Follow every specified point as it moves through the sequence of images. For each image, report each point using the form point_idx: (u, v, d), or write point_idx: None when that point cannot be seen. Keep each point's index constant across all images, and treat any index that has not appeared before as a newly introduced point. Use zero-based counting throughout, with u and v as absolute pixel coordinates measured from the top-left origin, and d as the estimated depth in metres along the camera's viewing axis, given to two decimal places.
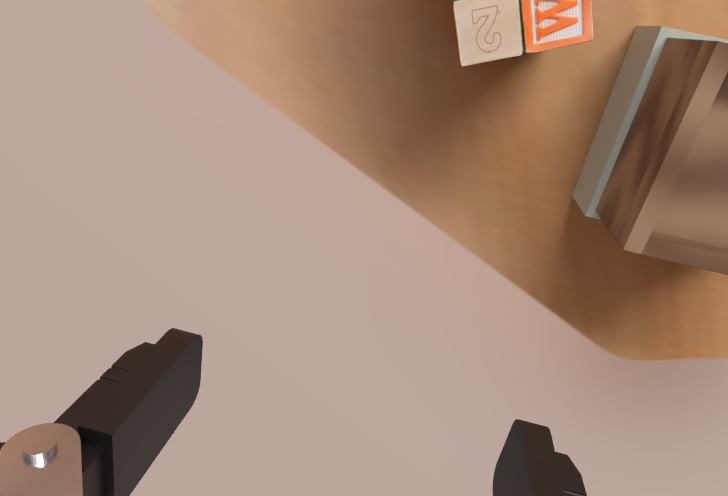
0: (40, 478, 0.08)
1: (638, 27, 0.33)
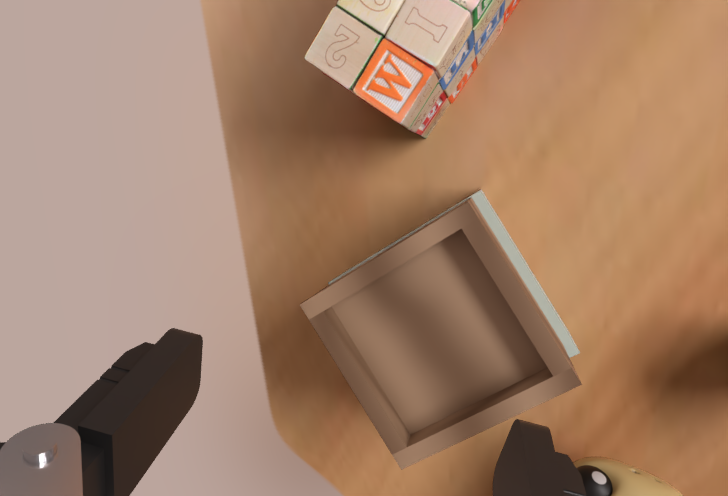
0: (40, 478, 0.08)
1: (480, 189, 0.36)
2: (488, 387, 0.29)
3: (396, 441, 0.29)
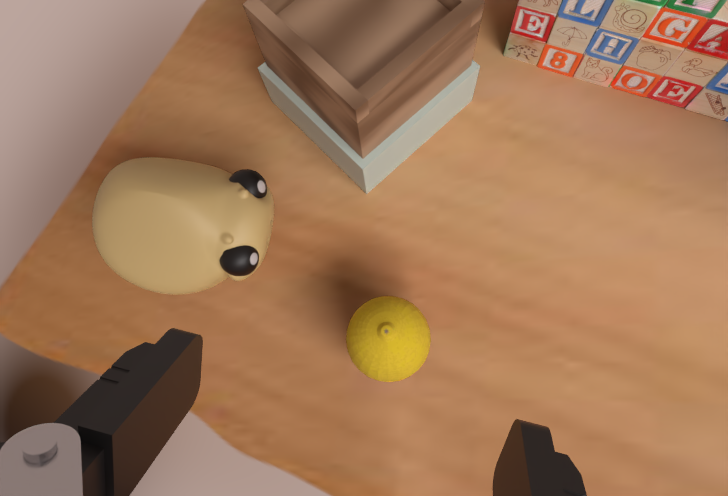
0: (40, 478, 0.08)
1: (471, 96, 0.42)
2: None
3: None
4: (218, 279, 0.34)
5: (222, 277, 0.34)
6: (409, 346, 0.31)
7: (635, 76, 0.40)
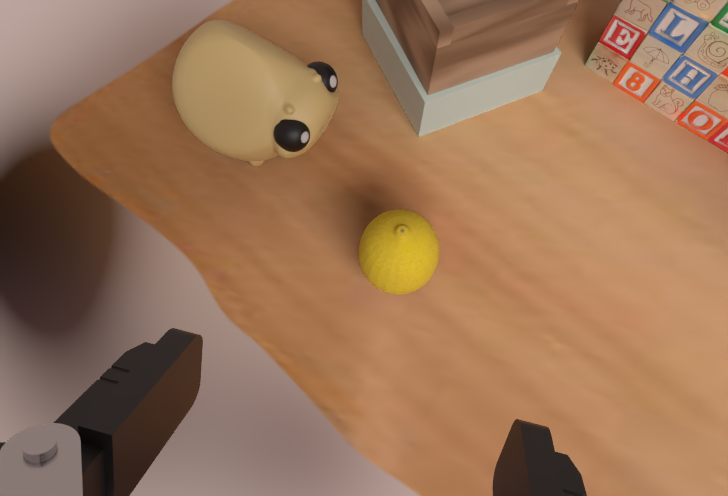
0: (40, 478, 0.08)
1: (543, 86, 0.45)
2: None
3: None
4: (265, 149, 0.37)
5: (269, 149, 0.37)
6: (417, 253, 0.32)
7: (703, 114, 0.42)
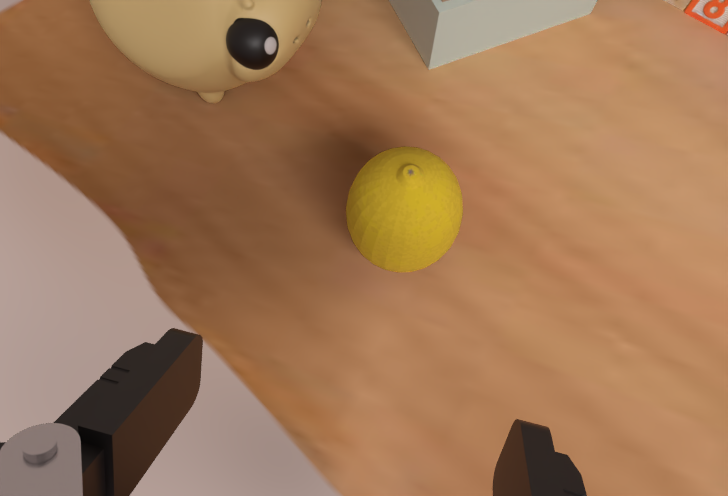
0: (40, 478, 0.08)
1: (592, 7, 0.34)
2: None
3: None
4: (217, 68, 0.26)
5: (223, 67, 0.26)
6: (433, 208, 0.21)
7: None
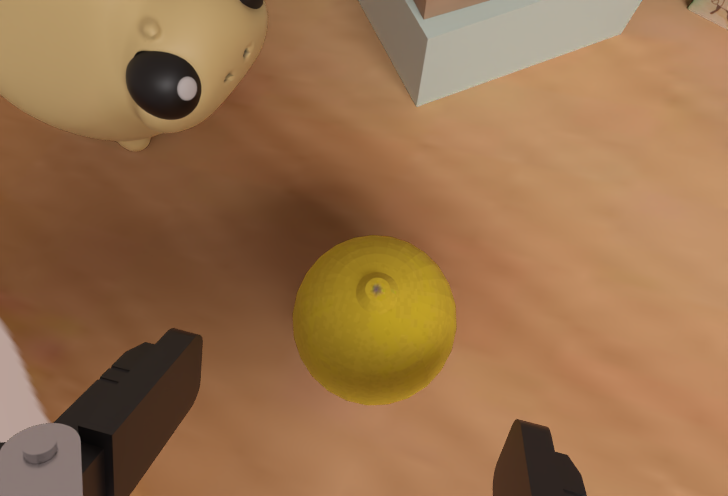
0: (40, 478, 0.08)
1: (623, 26, 0.27)
2: None
3: None
4: (121, 115, 0.19)
5: (129, 115, 0.19)
6: (411, 339, 0.14)
7: None
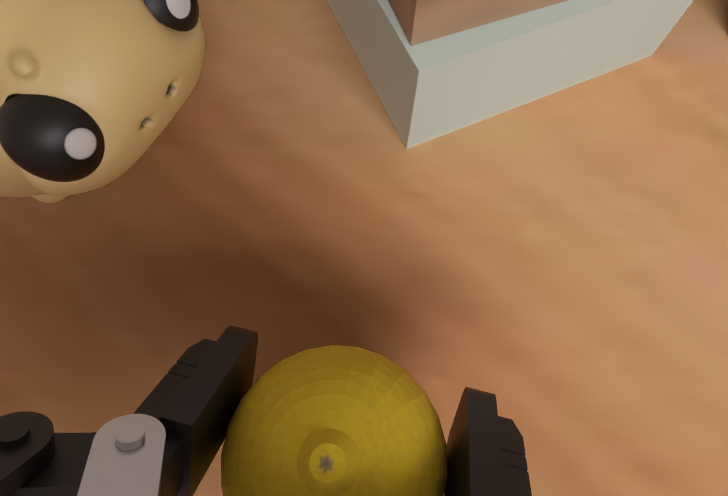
0: (125, 466, 0.09)
1: None
2: None
3: None
4: (4, 173, 0.14)
5: (15, 172, 0.14)
6: None
7: None
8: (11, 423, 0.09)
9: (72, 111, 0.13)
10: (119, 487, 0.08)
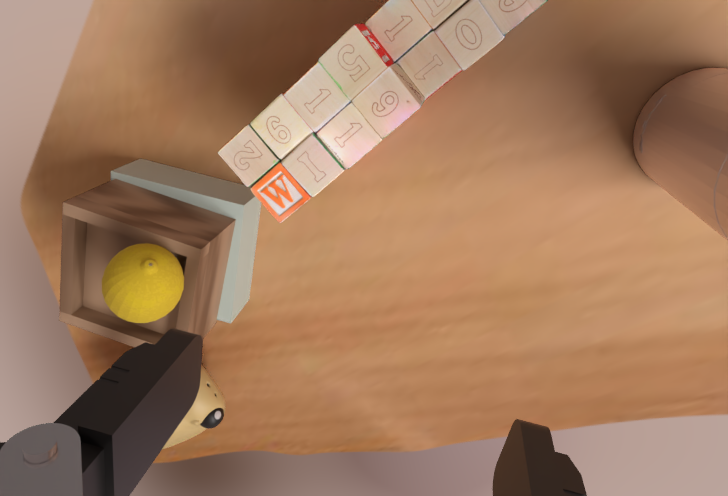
0: (40, 478, 0.08)
1: None
2: None
3: (67, 308, 0.42)
4: None
5: None
6: (160, 251, 0.36)
7: None
8: None
9: (210, 415, 0.49)
10: None
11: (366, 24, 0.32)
